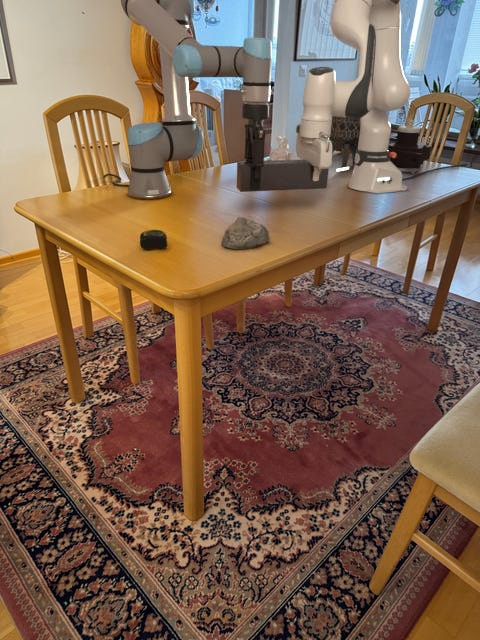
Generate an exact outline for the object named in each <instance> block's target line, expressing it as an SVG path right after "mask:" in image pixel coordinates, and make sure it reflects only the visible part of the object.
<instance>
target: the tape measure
mask: <svg viewBox="0 0 480 640" xmlns="http://www.w3.org/2000/svg"><path fill="white" fill-rule="evenodd" d="M167 236H168V235H167V234H166V232H165V231H164V230H161V229H147V230H144V231H143V232H141V233H140V235H139V240H140V241H139V245H140V246H139V247H141V248H142V249H146V250H157V249H167V248H168V240H167V239H168V237H167Z"/></svg>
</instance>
